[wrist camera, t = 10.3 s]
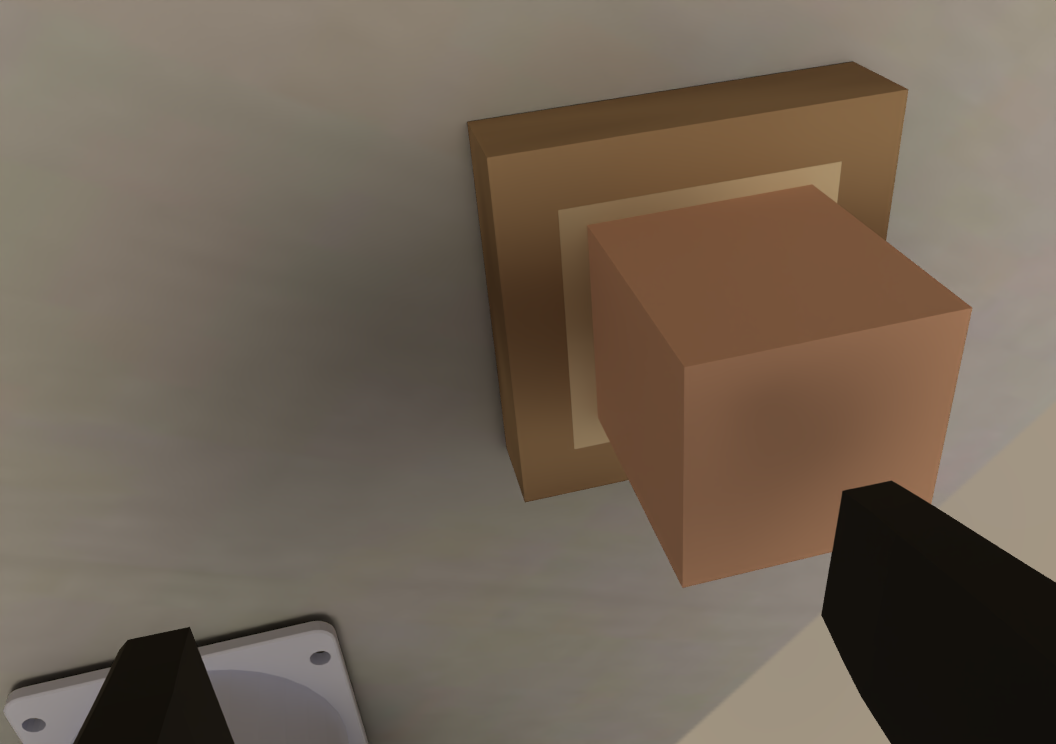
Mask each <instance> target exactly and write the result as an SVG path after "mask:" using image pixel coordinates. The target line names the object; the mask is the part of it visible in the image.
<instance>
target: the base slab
mask: <svg viewBox="0 0 1056 744" xmlns="http://www.w3.org/2000/svg"><path fill="white" fill-rule="evenodd" d="M907 95H908V89H906V88H904V87H902V86H900V85H898V84H896V83H894V82H892V81H890V80H889V79H887V78H885V77H883V76H881V75H879V74H877V73H875V72H873V71H871V70H869V69H867V68H865V67H863V66H861V65H859V64H857V63H855V62H848V63H842V64H835V65H829V66H823V67H816V68H810V69H803V70H797V71H791V72H784V73H778V74H771V75H765V76H758V77H752V78H746V79H739V80H733V81H726V82H720V83H714V84H707V85H701V86H694V87H688V88H682V89H675V90H669V91H662V92H656V93H650V94H643V95H637V96H630V97H624V98H618V99H611V100H605V101H598V102H592V103H586V104H579V105H573V106H566V107H560V108H553V109H547V110H541V111H534V112H528V113H521V114H515V115H509V116H502V117H496V118H489V119H483V120H477V121H470V122H467V124H468V132H469V140H470V149H471V157H472V165H473V174H474V182H475V190H476V198H477V207H478V215H479V223H480V232H481V240H482V248H483V256H484V265H485V273H486V281H487V290H488V298H489V306H490V314H491V323H492V331H493V339H494V348H495V356H496V364H497V372H498V381H499V389H500V397H501V405H502V414H503V422H504V430H505V439H506V447H507V451H508V454H509V457H510V459H511V462H512V465H513V468H514V471H515V474H516V477H517V480H518V483H519V486H520V489H521V492H522V495H523V498H524V501H525V502H529V501H533V500H538V499H542V498H547V497H552V496H556V495H561V494H566V493H570V492H575V491H579V490H584V489H589V488H593V487H598V486H602V485H607V484H612V483H616V482H621V481H625V480H629V479H628V477H627V475H626V473H625V471H624V469H623V467H622V465H621V463H620V461H619V459H618V457H617V455H616V453H615V451H614V449H613V447H612V445H611V443H610V441H609V439H608V437H607V435H606V433H605V431H604V429H603V427H602V425H601V423H600V421H599V419H598V408H597V390H596V372H595V355H594V337H593V319H592V302H591V284H590V266H589V249H588V231H587V225H591V224H596V223H602V222H607V221H613V220H618V219H624V218H629V217H635V216H640V215H646V214H651V213H657V212H662V211H668V210H674V209H679V208H685V207H690V206H696V205H701V204H707V203H712V202H718V201H723V200H729V199H734V198H740V197H745V196H751V195H756V194H762V193H767V192H773V191H778V190H784V189H789V188H795V187H800V186H806V185H811V184H813V185H814V186H815V187H817V188H818V189H819V190H820V191H822V192H823V193H824V194H826V195H827V196H828V197H829V198H831V199H832V200H833V201H835V202H836V203H837V204H839V205H840V206H841V207H842V208H844V209H845V210H846V211H848V212H849V213H850V214H851V215H853V216H854V217H855V218H857V219H858V220H859V221H861V222H862V223H863V224H864V225H866V226H867V227H868V228H870V229H871V230H872V231H873V232H875V233H876V234H877V235H879V236H880V237H881V238H883V239H884V240H885V241H886V236H887V229H888V222H889V216H890V209H891V202H892V196H893V189H894V182H895V175H896V169H897V162H898V155H899V149H900V142H901V135H902V128H903V122H904V115H905V108H906V101H907Z"/></svg>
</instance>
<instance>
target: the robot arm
mask: <svg viewBox="0 0 1056 744" xmlns="http://www.w3.org/2000/svg"><path fill="white" fill-rule="evenodd" d="M821 615H822V617H823V619H824V621H825V624H826V626H827V628H828V630H829V632H830V634H831V636H832V638H833V640H834V643H835V645H836V647H837V649H838V651H839V653H840V656H841V658H842V660H843V662H844V664H845V666H846V668H847V670H848V671H849V674H850V675H851V678H852V680H853V682H854V684H855V685H856V687H857V689H858V691H859V693H860V695H861V697H862V699H863V700H864V702H865V703H866V705H867V707H868V708H869V710H870V711H871V713H872V715H873V716H874V718H875V719H876V721H877V722H878V724H879V726H880V727H881V729H882V730H883V732H884V733H885V735H886V736H887V738H888V740H889V741H890V743H891V744H1056V582H1054V581H1052V580H1051V579H1049V578H1047V577H1045V576H1044V575H1042V574H1041V573H1039V572H1038V571H1036V570H1035V569H1033V568H1031V567H1030V566H1028V565H1027V564H1025V563H1023V562H1022V561H1020V560H1018V559H1017V558H1015V557H1014V556H1012V555H1011V554H1009V553H1007V552H1006V551H1004V550H1003V549H1001V548H999V547H998V546H996V545H995V544H993V543H991V542H990V541H988V540H987V539H985V538H984V537H982V536H980V535H979V534H977V533H976V532H974V531H972V530H971V529H969V528H968V527H966V526H965V525H963V524H962V523H960V522H958V521H957V520H955V519H954V518H952V517H950V516H949V515H947V514H946V513H944V512H943V511H941V510H939V509H938V508H936V507H935V506H933V505H931V504H930V503H928V502H927V501H925V500H923V499H922V498H920V497H919V496H917V495H915V494H914V493H912V492H910V491H909V490H907V489H905V488H904V487H902V486H900V485H899V484H897V483H895V482H893V481H892V480H891V481H887V482H882V483H877V484H872V485H867V486H863V487H858V488H853V489H848V490H844V491H842V497H841V503H840V508H839V514H838V520H837V526H836V532H835V538H834V544H833V550H832V556H831V561H830V567H829V573H828V579H827V585H826V591H825V597H824V603H823V608H822V614H821ZM318 651H325V652H323V653H315V652H318ZM3 711H4V715H5V717H6V718H7V720H8V722H9V723H10V725H11V726H12V728H13V729H14V731H15V732H16V734H17V736H18V737H19V739H20V740H21V742H22V743H23V744H369V743H368V740H367V736H366V733H365V729H364V726H363V723H362V719H361V716H360V712H359V709H358V706H357V702H356V699H355V695H354V692H353V689H352V685H351V682H350V679H349V675H348V672H347V668H346V665H345V662H344V658H343V655H342V651H341V648H340V645H339V641H338V638H337V634H336V631H335V629H334V627H333V626H332V625H331V624H329V623H327V622H323V621H311V622H307V623H303V624H298V625H294V626H289V627H285V628H281V629H276V630H272V631H268V632H263V633H259V634H254V635H250V636H246V637H241V638H237V639H232V640H228V641H224V642H219V643H215V644H210V645H206V646H202V647H197V645H196V642H195V639H194V637H193V634H192V632H191V629H190V627H188V628H183V629H178V630H173V631H168V632H164V633H159V634H154V635H149V636H144V637H140V638H135V639H130V640H127V642H126V643H125V644H124V645H123V646H122V648H121V649H120V650H119V652H118V654H117V656H116V658H115V660H114V662H113V664H112V666H111V667H110V668H105V669H101V670H96V671H92V672H88V673H83V674H79V675H75V676H70V677H66V678H61V679H57V680H53V681H48V682H44V683H39V684H35V685H31V686H26V687H22V688H19V689H17V690H14V691H13V692H11V693H10V694H9V695H8V697H7V700H6V703H5V707H4V710H3ZM34 718H38V719H34Z"/></svg>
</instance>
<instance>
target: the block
mask: <svg viewBox="0 0 1056 744" xmlns="http://www.w3.org/2000/svg"><path fill="white" fill-rule="evenodd" d="M587 231H588V249H589V266H590V284H591V302H592V319H593V337H594V355H595V372H596V390H597V408H598V419H599V421H600V423H601V425H602V427H603V429H604V431H605V433H606V435H607V437H608V439H609V441H610V443H611V445H612V447H613V449H614V451H615V453H616V455H617V457H618V459H619V461H620V463H621V465H622V467H623V469H624V471H625V473H626V475H627V477H628V479H629V481H630V483H631V485H632V487H633V489H634V491H635V493H636V495H637V497H638V499H639V501H640V503H641V505H642V507H643V509H644V511H645V513H646V515H647V517H648V519H649V521H650V523H651V525H652V528H653V530H654V532H655V534H656V536H657V538H658V540H659V542H660V544H661V546H662V548H663V550H664V552H665V554H666V556H667V558H668V560H669V562H670V564H671V566H672V568H673V570H674V572H675V574H676V576H677V578H678V580H679V582H680V584H681V586H682V588H684V587H688V586H692V585H696V584H701V583H705V582H709V581H713V580H717V579H721V578H726V577H730V576H734V575H738V574H742V573H746V572H750V571H755V570H759V569H763V568H767V567H771V566H775V565H780V564H784V563H788V562H792V561H796V560H800V559H804V558H809V557H813V556H817V555H821V554H825V553H829V552H832V550H833V544H834V538H835V532H836V526H837V520H838V514H839V508H840V503H841V497H842V491H844V490H848V489H853V488H858V487H863V486H867V485H872V484H877V483H882V482H887V481H891V480H892V481H893V482H895V483H897V484H899V485H900V486H902V487H904V488H905V489H907V490H909V491H910V492H912V493H914V494H915V495H917V496H919V497H920V498H922V499H923V500H925V501H927V502H928V503H930V504H931V502H932V497H933V493H934V488H935V483H936V478H937V474H938V469H939V464H940V459H941V455H942V450H943V445H944V440H945V435H946V431H947V426H948V421H949V416H950V412H951V407H952V402H953V397H954V393H955V388H956V383H957V378H958V373H959V369H960V364H961V359H962V354H963V350H964V345H965V340H966V335H967V331H968V326H969V321H970V316H971V312H972V307H971V306H969V305H968V304H967V303H965V302H964V301H963V300H961V299H960V298H959V297H958V296H956V295H955V294H954V293H952V292H951V291H950V290H949V289H947V288H946V287H945V286H943V285H942V284H941V283H939V282H938V281H937V280H936V279H934V278H933V277H932V276H930V275H929V274H928V273H927V272H925V271H924V270H923V269H921V268H920V267H919V266H917V265H916V264H915V263H914V262H912V261H911V260H910V259H908V258H907V257H906V256H905V255H903V254H902V253H901V252H899V251H898V250H897V249H895V248H894V247H893V246H892V245H890V244H889V243H888V242H886V241H885V240H884V239H883V238H881V237H880V236H879V235H877V234H876V233H875V232H873V231H872V230H871V229H870V228H868V227H867V226H866V225H864V224H863V223H862V222H861V221H859V220H858V219H857V218H855V217H854V216H853V215H851V214H850V213H849V212H848V211H846V210H845V209H844V208H842V207H841V206H840V205H839V204H837V203H836V202H835V201H833V200H832V199H831V198H829V197H828V196H827V195H826V194H824V193H823V192H822V191H820V190H819V189H818V188H817V187H815V186H814V185H813V184H811V185H806V186H800V187H795V188H789V189H784V190H778V191H773V192H767V193H762V194H756V195H751V196H745V197H740V198H734V199H729V200H723V201H718V202H712V203H707V204H701V205H696V206H690V207H685V208H679V209H674V210H668V211H662V212H657V213H651V214H646V215H640V216H635V217H629V218H624V219H618V220H613V221H607V222H602V223H596V224H591V225H587Z"/></svg>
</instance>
